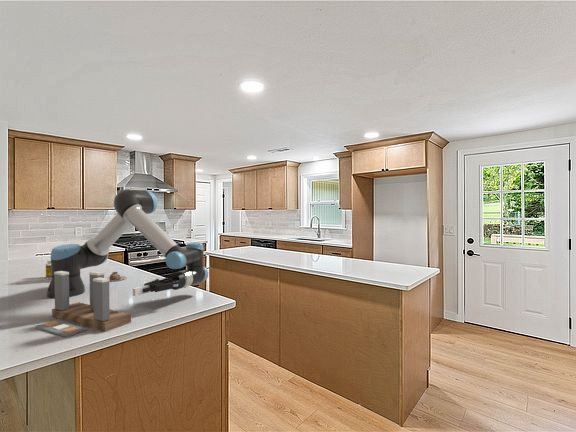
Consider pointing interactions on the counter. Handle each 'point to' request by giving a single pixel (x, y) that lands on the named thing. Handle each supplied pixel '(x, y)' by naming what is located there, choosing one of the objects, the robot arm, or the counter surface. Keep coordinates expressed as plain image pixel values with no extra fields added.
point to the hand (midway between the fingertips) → (134, 292)
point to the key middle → (92, 275)
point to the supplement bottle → (48, 269)
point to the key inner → (61, 290)
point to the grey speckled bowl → (115, 277)
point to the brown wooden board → (91, 317)
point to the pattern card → (61, 328)
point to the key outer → (101, 299)
